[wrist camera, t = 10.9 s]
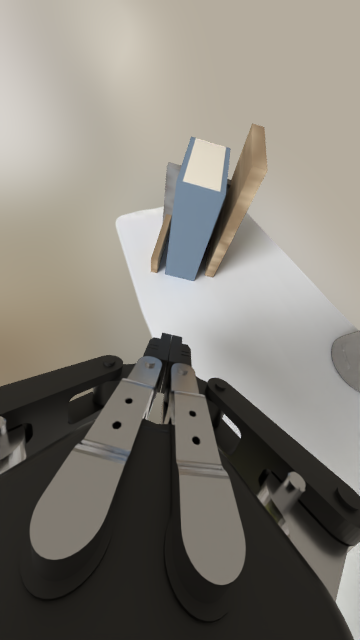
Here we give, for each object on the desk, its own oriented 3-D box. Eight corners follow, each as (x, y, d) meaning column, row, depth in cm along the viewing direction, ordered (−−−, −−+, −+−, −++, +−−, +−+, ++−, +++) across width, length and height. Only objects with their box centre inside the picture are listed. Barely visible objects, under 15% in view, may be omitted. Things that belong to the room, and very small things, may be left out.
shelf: (217, 238, 36) (264, 127, 21) (211, 286, 30) (268, 182, 16) (163, 223, 35) (173, 98, 20) (148, 270, 30) (147, 146, 15)
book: (200, 240, 35) (230, 147, 22) (193, 281, 30) (225, 194, 18) (175, 234, 34) (191, 135, 22) (164, 274, 30) (176, 180, 17)
